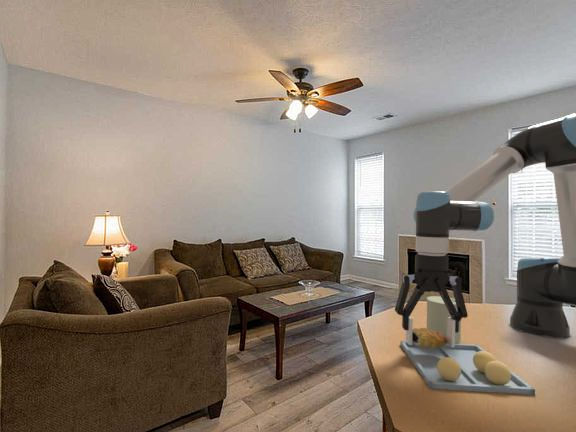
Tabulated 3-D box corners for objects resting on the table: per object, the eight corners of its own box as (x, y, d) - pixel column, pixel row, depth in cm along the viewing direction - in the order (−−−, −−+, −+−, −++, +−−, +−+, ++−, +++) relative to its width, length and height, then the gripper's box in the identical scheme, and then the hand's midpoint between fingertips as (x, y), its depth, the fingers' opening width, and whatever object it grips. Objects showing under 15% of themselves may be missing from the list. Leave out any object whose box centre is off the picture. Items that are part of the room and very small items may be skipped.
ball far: (455, 375, 70) (455, 354, 70) (465, 386, 65) (465, 363, 65) (433, 373, 70) (433, 353, 70) (442, 384, 65) (442, 362, 65)
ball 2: (502, 378, 68) (502, 357, 68) (515, 390, 64) (516, 367, 64) (480, 377, 69) (480, 356, 69) (492, 389, 64) (492, 366, 64)
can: (465, 347, 86) (466, 303, 86) (429, 344, 88) (430, 301, 88) (455, 335, 95) (455, 295, 95) (422, 332, 97) (423, 293, 97)
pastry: (435, 337, 84) (435, 323, 84) (454, 348, 77) (454, 332, 77) (404, 339, 82) (404, 325, 82) (421, 351, 75) (421, 335, 75)
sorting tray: (477, 350, 84) (477, 344, 84) (534, 397, 62) (535, 389, 62) (400, 346, 86) (400, 341, 86) (430, 391, 64) (430, 383, 64)
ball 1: (489, 367, 73) (489, 348, 73) (501, 378, 69) (501, 356, 69) (468, 366, 74) (469, 347, 74) (479, 376, 69) (479, 355, 69)
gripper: (470, 253, 82) (468, 340, 81) (383, 250, 83) (381, 336, 83) (486, 257, 74) (484, 352, 74) (389, 254, 76) (388, 347, 76)
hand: (429, 343), depth 79 cm, fingers closed on pastry, 9 cm apart
